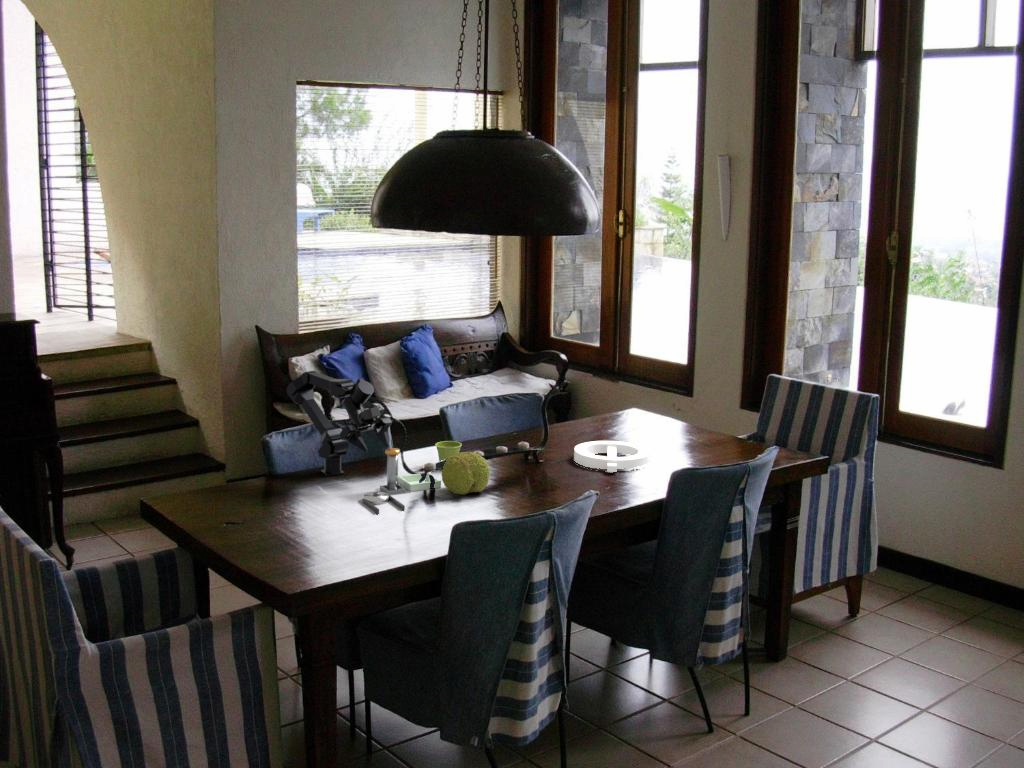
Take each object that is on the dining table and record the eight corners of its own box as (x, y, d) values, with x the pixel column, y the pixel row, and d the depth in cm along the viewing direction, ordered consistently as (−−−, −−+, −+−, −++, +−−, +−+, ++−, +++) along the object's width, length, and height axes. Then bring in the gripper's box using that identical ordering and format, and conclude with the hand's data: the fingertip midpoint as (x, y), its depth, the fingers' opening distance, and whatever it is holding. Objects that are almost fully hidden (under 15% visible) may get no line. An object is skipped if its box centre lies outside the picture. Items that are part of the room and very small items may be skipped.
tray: (397, 484, 382) (397, 476, 382) (427, 481, 388) (427, 472, 387) (410, 493, 373) (410, 484, 372) (440, 489, 378) (440, 480, 378)
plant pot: (449, 472, 399) (450, 448, 397) (429, 467, 404) (430, 444, 402) (466, 467, 406) (467, 444, 404) (446, 462, 411) (447, 439, 410)
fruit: (472, 503, 364) (450, 462, 362) (447, 508, 375) (426, 469, 373) (505, 478, 374) (484, 439, 372) (480, 484, 385) (459, 446, 384)
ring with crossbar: (611, 449, 438) (612, 437, 437) (665, 465, 417) (665, 452, 416) (558, 460, 420) (558, 447, 419) (611, 477, 399) (612, 464, 398)
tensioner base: (374, 490, 375) (374, 485, 375) (399, 487, 380) (399, 482, 379) (385, 497, 368) (385, 492, 367) (410, 494, 372) (410, 489, 372)
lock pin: (383, 489, 374) (383, 448, 372) (396, 487, 377) (396, 447, 374) (388, 493, 370) (388, 452, 368) (402, 491, 373) (402, 450, 370)
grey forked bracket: (358, 500, 364) (358, 491, 363) (385, 497, 368) (385, 487, 367) (376, 515, 350) (376, 505, 349) (404, 511, 354) (404, 501, 354)
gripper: (345, 401, 370) (366, 440, 364) (388, 394, 383) (410, 431, 378) (330, 420, 376) (351, 459, 371) (373, 412, 390) (394, 449, 385)
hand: (377, 449), depth 376 cm, fingers open, 9 cm apart
